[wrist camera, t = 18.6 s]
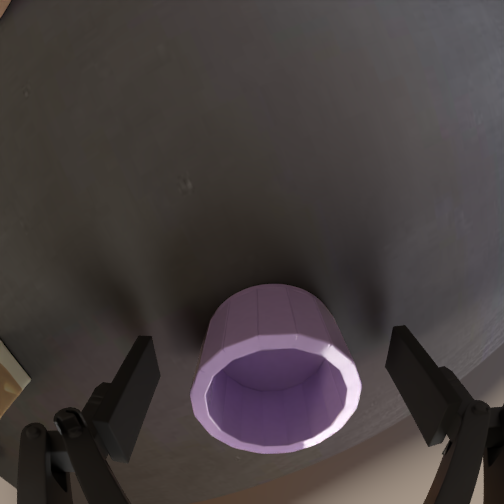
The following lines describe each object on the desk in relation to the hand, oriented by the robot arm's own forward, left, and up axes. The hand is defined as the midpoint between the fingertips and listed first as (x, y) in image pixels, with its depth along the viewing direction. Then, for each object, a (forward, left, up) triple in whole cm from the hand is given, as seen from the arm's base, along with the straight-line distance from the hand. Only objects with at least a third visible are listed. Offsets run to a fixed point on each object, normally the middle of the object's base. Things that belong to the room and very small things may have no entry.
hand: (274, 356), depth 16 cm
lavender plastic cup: (0, 0, -1) cm, 1 cm away
